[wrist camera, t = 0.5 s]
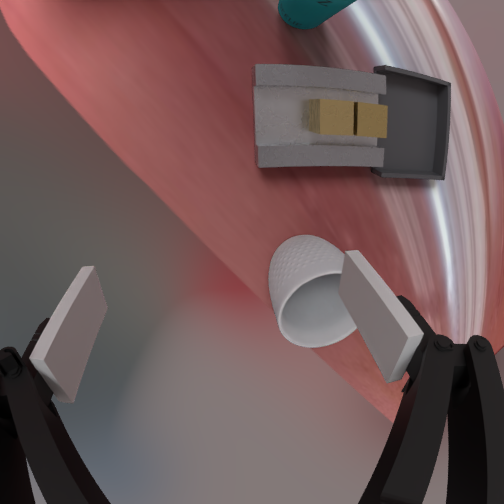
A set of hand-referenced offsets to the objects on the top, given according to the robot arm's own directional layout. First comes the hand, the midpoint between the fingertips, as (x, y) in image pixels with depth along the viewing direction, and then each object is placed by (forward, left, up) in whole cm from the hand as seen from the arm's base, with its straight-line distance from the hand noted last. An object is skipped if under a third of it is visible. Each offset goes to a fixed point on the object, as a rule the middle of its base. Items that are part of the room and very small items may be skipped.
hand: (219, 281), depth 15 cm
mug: (+13, +12, -24) cm, 30 cm away
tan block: (-7, +13, -22) cm, 27 cm away
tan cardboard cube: (-7, +18, -22) cm, 29 cm away
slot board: (-7, +13, -24) cm, 28 cm away
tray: (-7, +27, -24) cm, 37 cm away
